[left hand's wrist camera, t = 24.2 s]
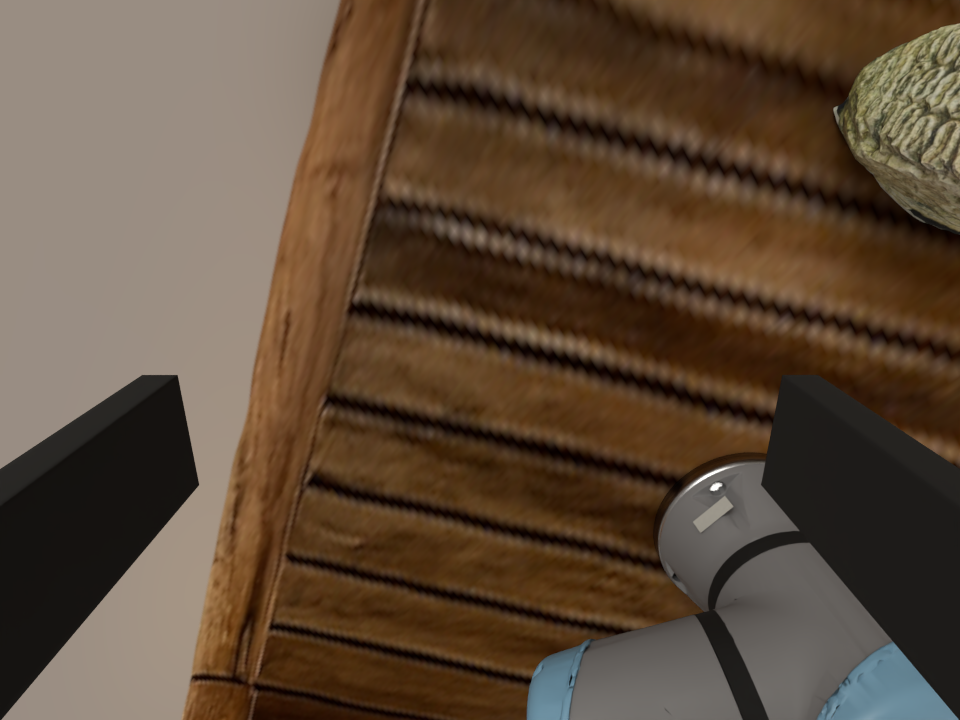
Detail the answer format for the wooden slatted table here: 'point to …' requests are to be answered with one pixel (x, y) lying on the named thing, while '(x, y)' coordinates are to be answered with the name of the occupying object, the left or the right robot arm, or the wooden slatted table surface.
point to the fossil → (911, 125)
